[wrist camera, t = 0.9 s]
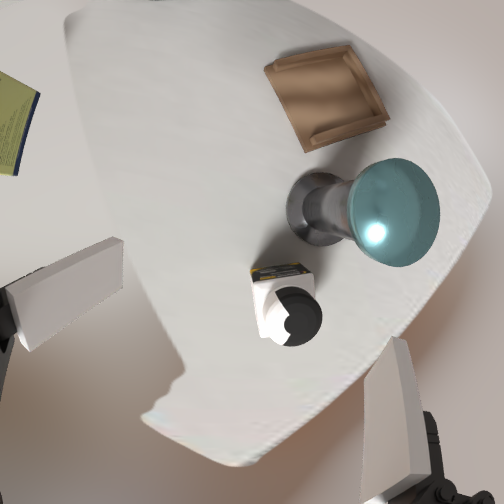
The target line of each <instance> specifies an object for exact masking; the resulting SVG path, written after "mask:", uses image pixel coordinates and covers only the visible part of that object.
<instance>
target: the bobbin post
mask: <svg viewBox="0 0 504 504" xmlns="http://www.w3.org/2000/svg"><path fill="white" fill-rule="evenodd" d="M286 215H287V219H288V222H289V224H290V227H291V228H292V230H293V231H294V232H295V234H296V235H297V236H298V237H300V238H301V239H302V240H304V241H306V242H308V243H310V244H313V245H317V246H328V245H332V244H335V243H337V242H339V241H341V240H342V239H343V238H346V239H349V240H353V241H355V243H356V244H357V246H358V247H359V248H360V250H361V251H362V252H363V253H364V254H366V255H367V256H368V257H370V258H371V259H373V260H375V261H378V262H380V263H383V264H386V265H388V266H393V267H403V266H408V265H411V264H413V263H415V262H417V261H418V260H419V259H421V258H422V257H423V256H424V255H425V254H426V253H427V252H428V250H429V249H430V247H431V246H432V244H433V242H434V240H435V238H436V235H437V232H438V228H439V222H440V205H439V199H438V195H437V192H436V189H435V187H434V185H433V183H432V181H431V180H430V178H429V177H428V175H427V174H426V173H425V172H424V171H423V170H422V169H421V168H420V167H419V166H418V165H416V164H414V163H413V162H411V161H408V160H405V159H401V158H392V159H387V160H383V161H380V162H376V163H374V164H371V165H369V166H368V167H367V168H365V169H364V170H363V171H362V172H361V173H360V174H359V175H358V176H357V178H356V179H355V180H351V181H346V182H344V181H343V180H342V179H340V178H339V177H337V176H335V175H332V174H329V173H314V174H310V175H308V176H306V177H304V178H302V179H300V180H299V181H298V182H297V183H296V184H295V185H294V186H293V188H292V189H291V191H290V193H289V195H288V198H287V203H286Z"/></svg>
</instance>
